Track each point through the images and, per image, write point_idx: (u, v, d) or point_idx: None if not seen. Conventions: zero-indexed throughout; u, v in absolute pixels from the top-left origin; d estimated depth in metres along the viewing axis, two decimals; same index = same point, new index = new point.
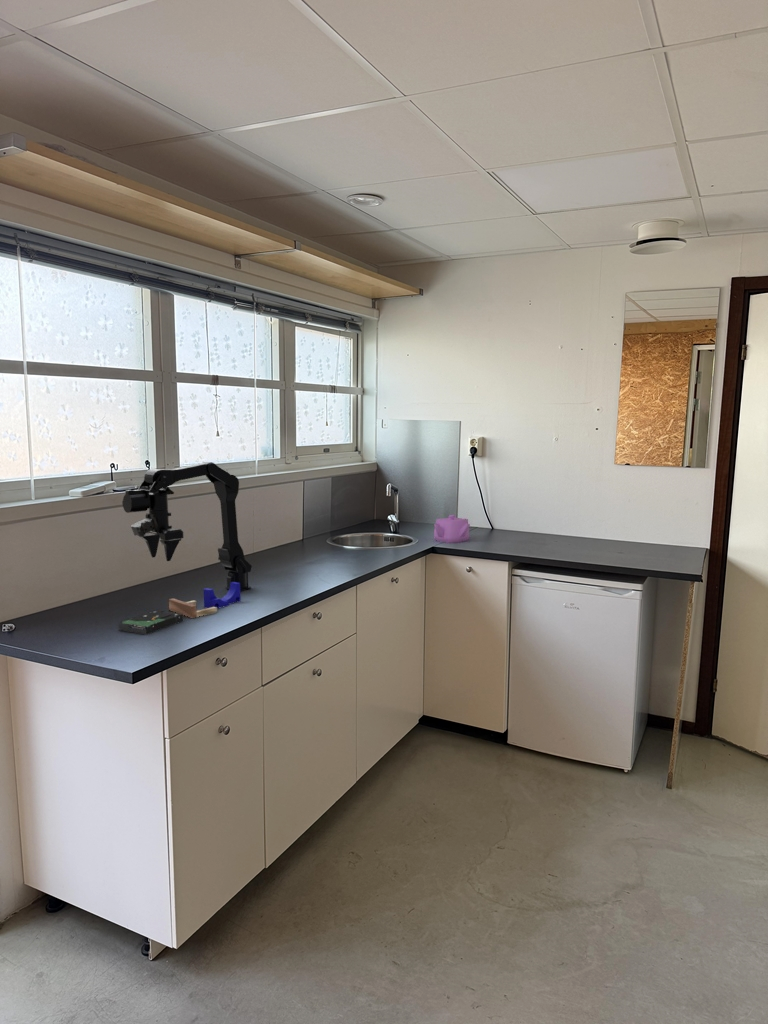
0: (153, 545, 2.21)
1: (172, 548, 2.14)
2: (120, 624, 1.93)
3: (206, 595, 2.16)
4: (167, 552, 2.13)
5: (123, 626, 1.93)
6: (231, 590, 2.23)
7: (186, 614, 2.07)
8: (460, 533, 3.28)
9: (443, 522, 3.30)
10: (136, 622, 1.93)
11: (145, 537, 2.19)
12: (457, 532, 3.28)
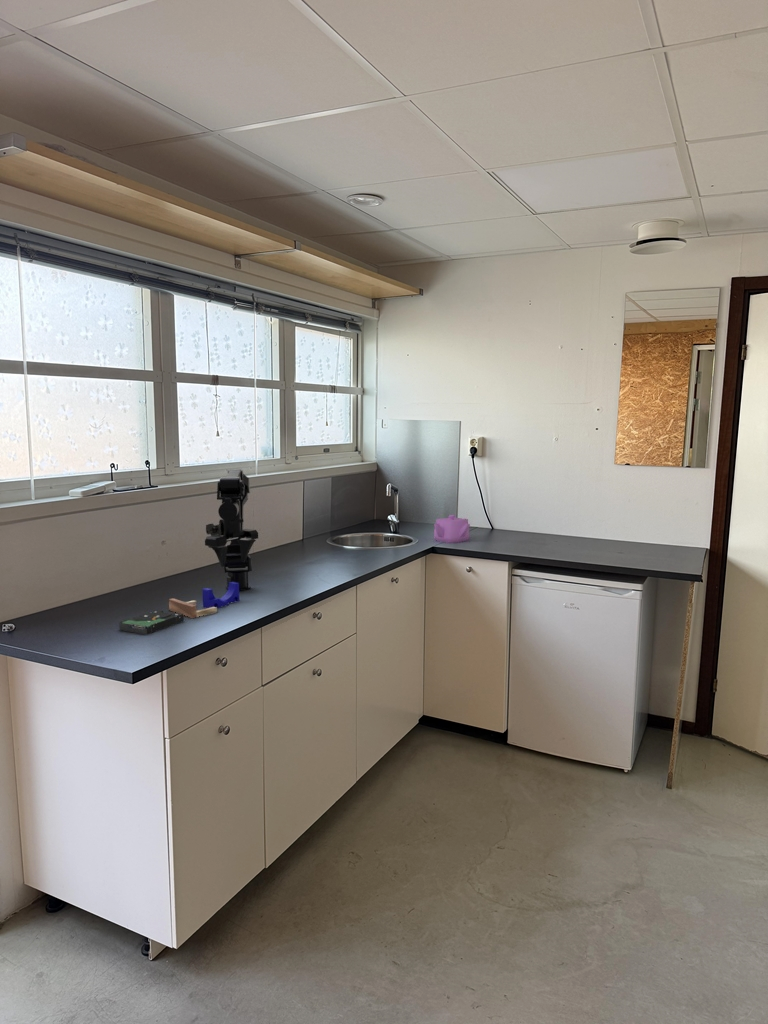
0: (243, 550, 2.28)
1: (221, 555, 2.19)
2: (120, 624, 1.93)
3: (205, 595, 2.16)
4: (218, 557, 2.20)
5: (123, 626, 1.93)
6: (230, 590, 2.23)
7: (186, 614, 2.07)
8: (460, 533, 3.28)
9: (443, 522, 3.30)
10: (136, 622, 1.93)
11: (238, 540, 2.30)
12: (457, 532, 3.28)
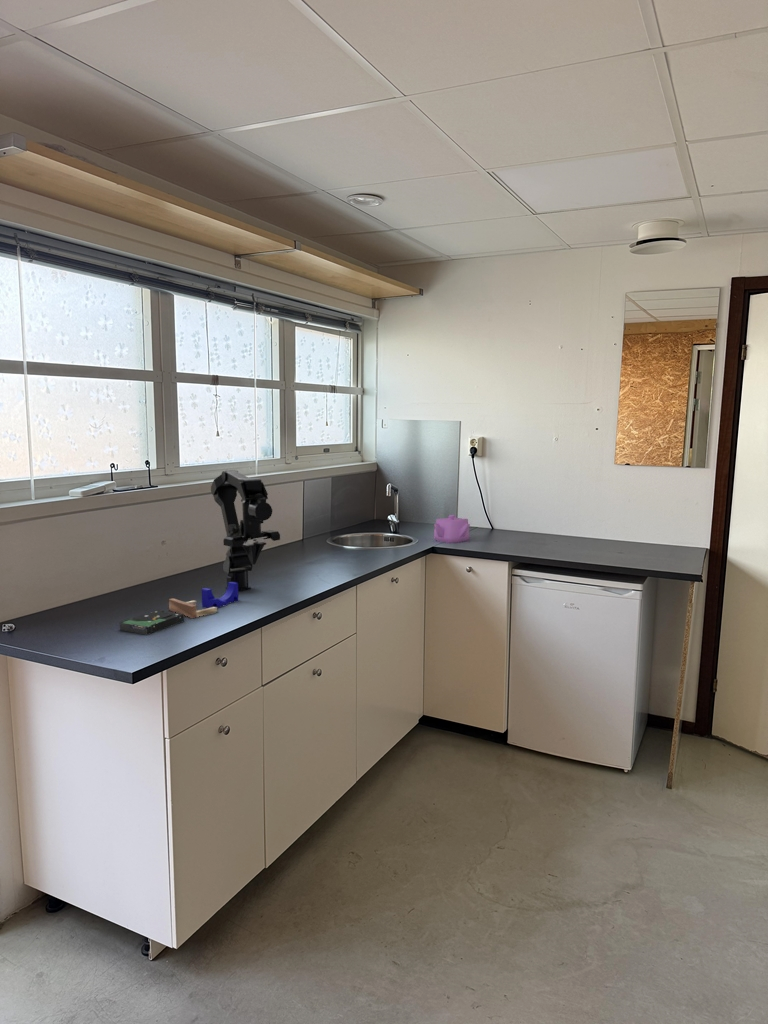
0: None
1: (250, 553, 2.25)
2: (121, 624, 1.93)
3: (204, 595, 2.16)
4: (248, 555, 2.26)
5: (123, 626, 1.93)
6: (229, 590, 2.24)
7: (186, 614, 2.07)
8: (460, 533, 3.28)
9: (443, 522, 3.30)
10: (137, 622, 1.93)
11: None
12: (457, 532, 3.28)
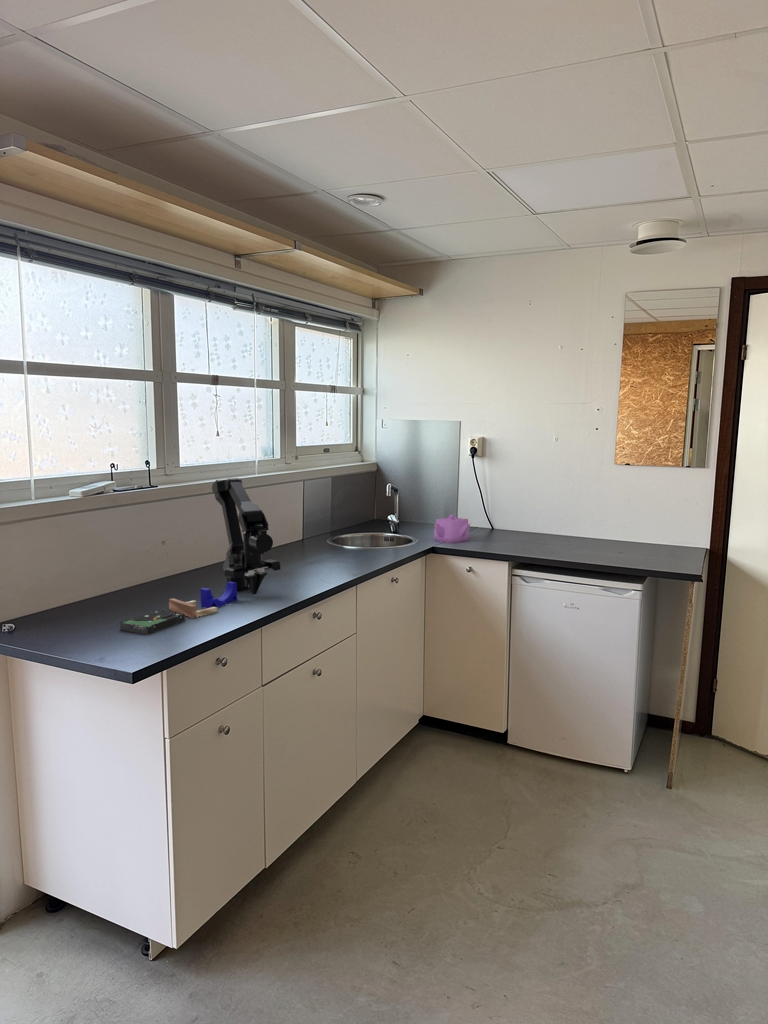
0: None
1: (251, 583, 2.26)
2: (121, 624, 1.93)
3: (203, 595, 2.16)
4: (249, 586, 2.28)
5: (124, 626, 1.93)
6: (228, 590, 2.24)
7: (186, 614, 2.07)
8: (460, 533, 3.28)
9: (443, 522, 3.30)
10: (137, 622, 1.93)
11: None
12: (457, 532, 3.28)
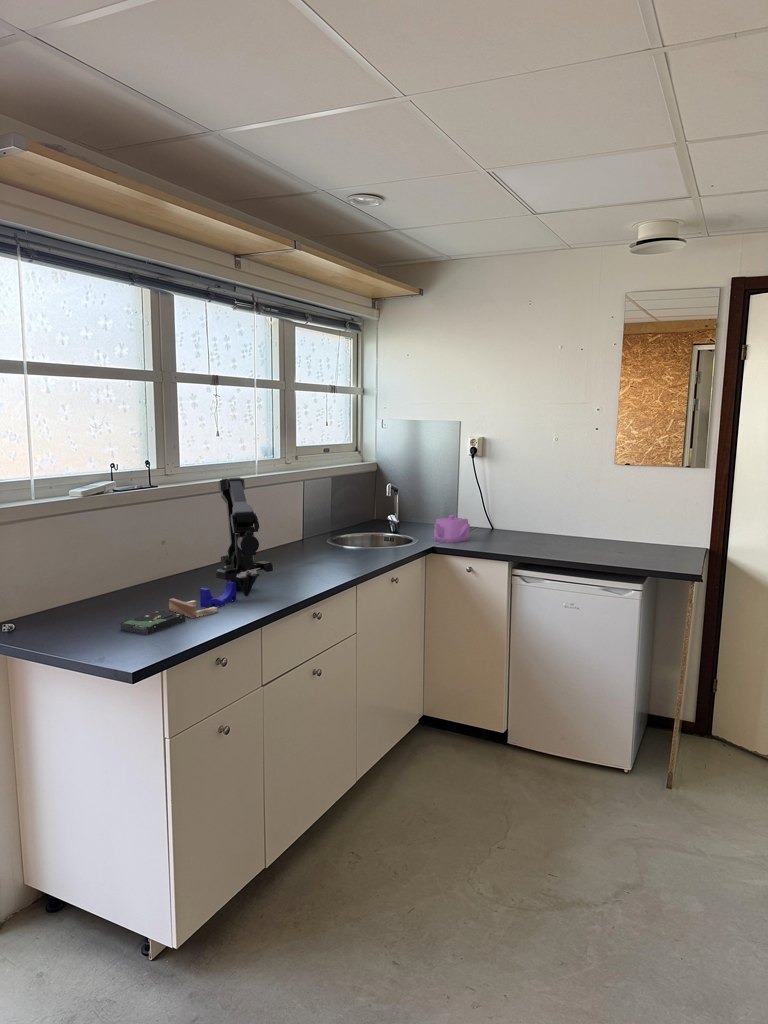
0: None
1: (243, 585, 2.24)
2: (122, 624, 1.93)
3: (202, 595, 2.16)
4: (241, 587, 2.25)
5: (124, 626, 1.93)
6: (227, 590, 2.24)
7: (186, 614, 2.07)
8: (460, 533, 3.28)
9: (443, 522, 3.30)
10: (138, 622, 1.93)
11: None
12: (457, 532, 3.28)
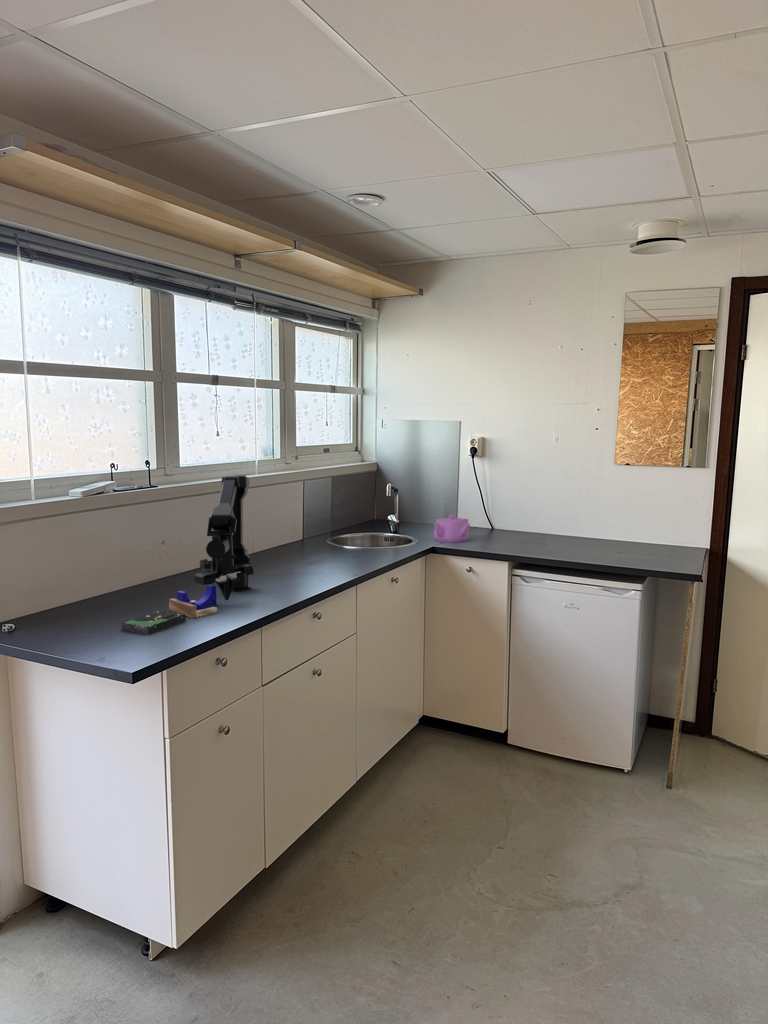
0: None
1: (224, 589, 2.18)
2: (122, 624, 1.93)
3: (179, 598, 2.11)
4: (221, 591, 2.20)
5: (125, 626, 1.93)
6: (207, 593, 2.19)
7: (186, 614, 2.07)
8: (460, 533, 3.28)
9: (443, 522, 3.30)
10: (138, 622, 1.93)
11: None
12: (457, 532, 3.28)
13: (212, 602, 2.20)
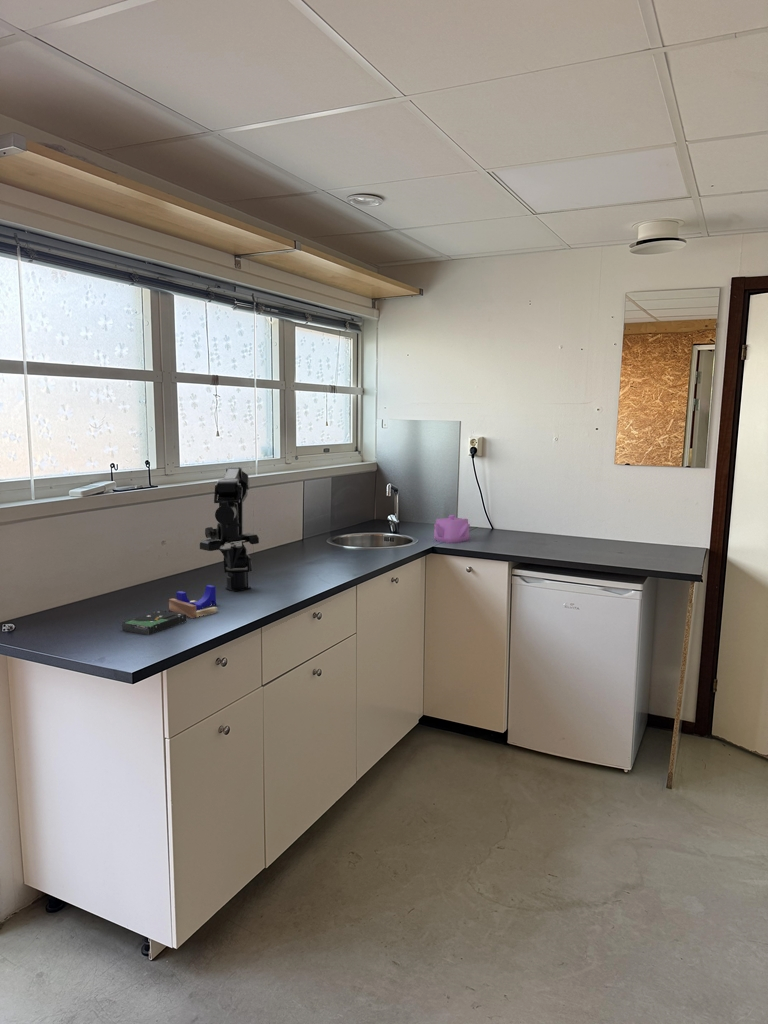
0: None
1: (228, 557, 2.19)
2: (123, 624, 1.93)
3: (179, 598, 2.12)
4: (226, 559, 2.20)
5: (126, 626, 1.93)
6: (206, 594, 2.19)
7: (186, 614, 2.07)
8: (460, 533, 3.28)
9: (443, 522, 3.30)
10: (139, 622, 1.93)
11: None
12: (457, 532, 3.28)
13: (211, 602, 2.20)
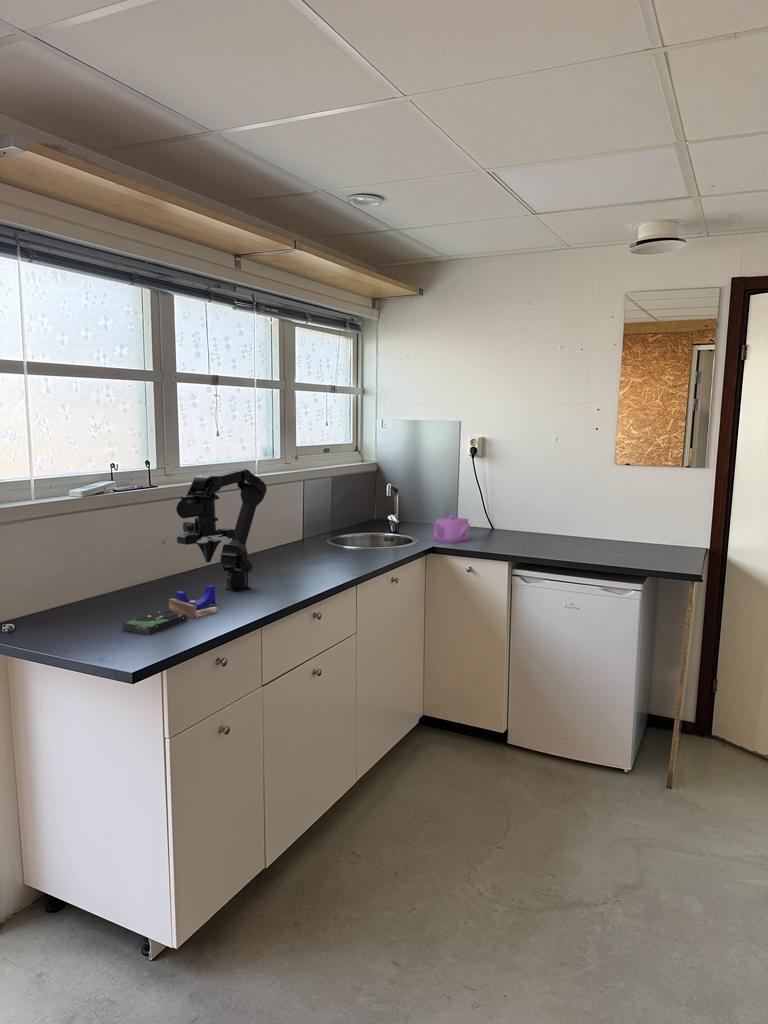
0: None
1: (205, 551, 2.24)
2: (124, 624, 1.93)
3: (178, 598, 2.12)
4: (203, 553, 2.25)
5: (126, 626, 1.93)
6: (206, 594, 2.19)
7: None
8: (460, 533, 3.28)
9: (443, 522, 3.30)
10: (140, 622, 1.93)
11: None
12: (457, 532, 3.28)
13: (211, 602, 2.20)
